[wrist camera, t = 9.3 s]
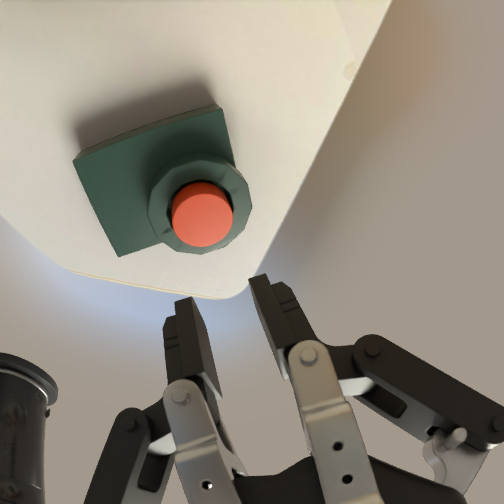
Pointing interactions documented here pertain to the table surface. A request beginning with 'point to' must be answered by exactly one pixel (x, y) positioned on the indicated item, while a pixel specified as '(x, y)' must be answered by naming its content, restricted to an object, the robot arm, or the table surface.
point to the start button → (201, 214)
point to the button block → (161, 179)
